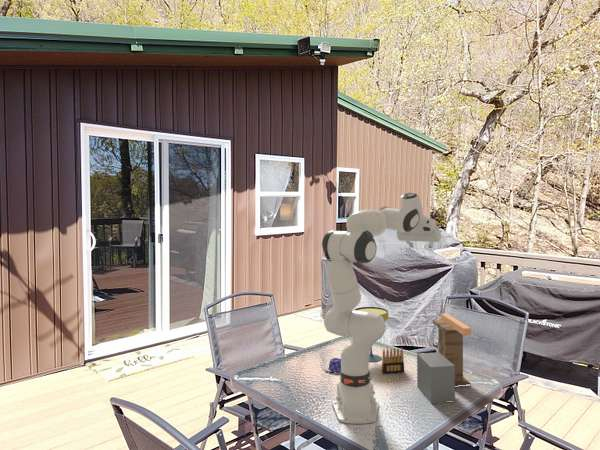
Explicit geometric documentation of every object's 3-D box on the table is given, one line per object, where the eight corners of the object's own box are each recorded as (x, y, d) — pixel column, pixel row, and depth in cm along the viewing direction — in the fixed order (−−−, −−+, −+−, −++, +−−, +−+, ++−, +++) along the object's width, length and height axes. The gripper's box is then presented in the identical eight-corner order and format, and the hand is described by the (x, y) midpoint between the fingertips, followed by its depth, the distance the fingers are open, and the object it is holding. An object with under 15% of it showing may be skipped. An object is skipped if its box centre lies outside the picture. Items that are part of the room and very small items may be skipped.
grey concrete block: (454, 401, 186) (454, 365, 185) (431, 403, 185) (430, 367, 184) (439, 385, 202) (439, 352, 201) (417, 387, 201) (417, 353, 200)
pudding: (330, 364, 231) (330, 354, 231) (352, 368, 226) (352, 357, 225) (320, 372, 221) (319, 362, 220) (343, 376, 215) (342, 365, 215)
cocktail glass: (348, 354, 243) (347, 308, 242) (378, 350, 249) (378, 305, 247) (362, 366, 226) (362, 316, 225) (395, 361, 232) (394, 313, 230)
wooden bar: (470, 335, 188) (470, 328, 188) (463, 335, 188) (463, 328, 188) (447, 319, 212) (447, 313, 212) (440, 320, 212) (440, 313, 212)
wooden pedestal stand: (471, 387, 199) (471, 328, 198) (444, 388, 198) (444, 330, 197) (455, 373, 215) (455, 318, 213) (431, 374, 214) (430, 320, 212)
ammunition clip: (402, 370, 220) (402, 346, 219) (404, 372, 218) (404, 347, 217) (381, 372, 218) (381, 348, 217) (382, 374, 216) (382, 349, 215)
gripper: (392, 227, 213) (398, 250, 220) (435, 228, 202) (440, 252, 209) (396, 219, 218) (402, 242, 225) (439, 219, 206) (444, 243, 213)
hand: (421, 247), depth 217 cm, fingers open, 8 cm apart
